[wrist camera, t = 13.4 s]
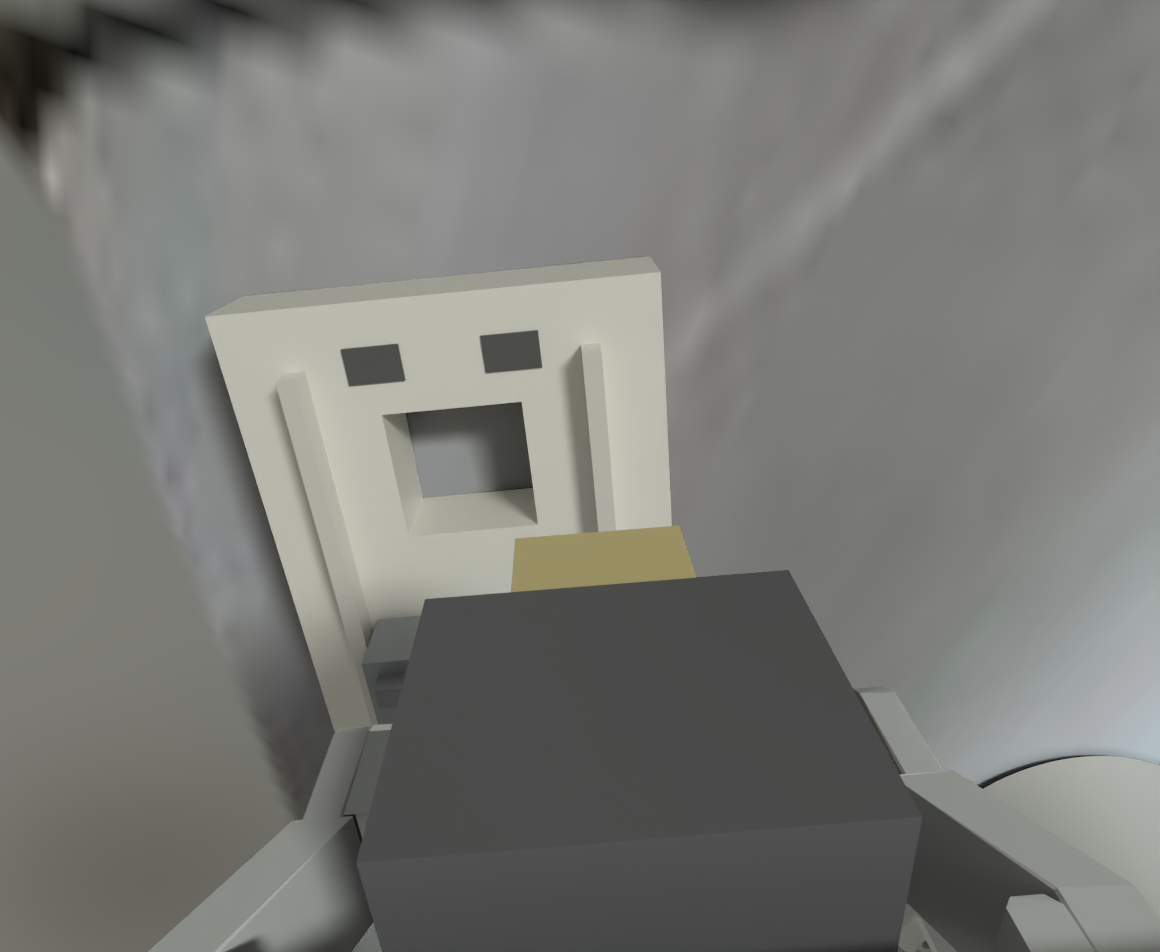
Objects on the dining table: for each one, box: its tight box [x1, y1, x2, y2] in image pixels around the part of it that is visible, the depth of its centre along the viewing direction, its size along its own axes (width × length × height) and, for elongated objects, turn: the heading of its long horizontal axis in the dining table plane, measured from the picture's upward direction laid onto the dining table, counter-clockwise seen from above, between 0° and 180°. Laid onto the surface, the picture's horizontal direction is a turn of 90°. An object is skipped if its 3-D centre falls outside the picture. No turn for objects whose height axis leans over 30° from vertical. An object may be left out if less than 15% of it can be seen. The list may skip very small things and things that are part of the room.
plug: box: [356, 526, 922, 952], centre depth 11 cm, size 5×5×7 cm
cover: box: [362, 616, 420, 725], centre depth 27 cm, size 7×8×3 cm
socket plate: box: [205, 256, 672, 732], centre depth 28 cm, size 20×14×4 cm
